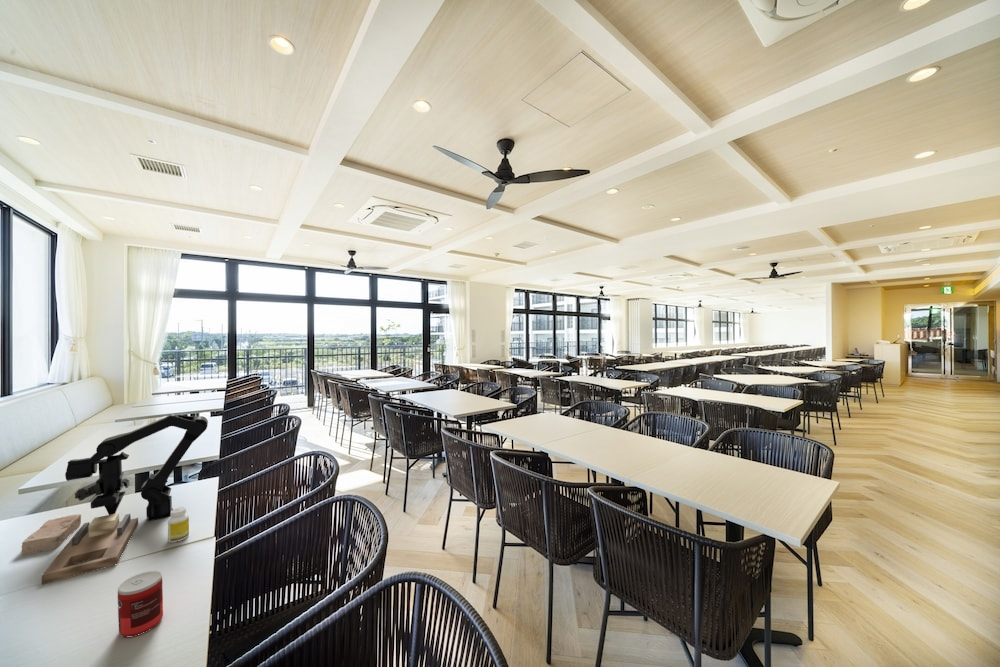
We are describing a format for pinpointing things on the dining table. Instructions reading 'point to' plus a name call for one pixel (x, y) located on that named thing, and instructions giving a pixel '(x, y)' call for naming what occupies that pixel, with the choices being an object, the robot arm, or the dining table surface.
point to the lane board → (90, 551)
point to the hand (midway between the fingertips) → (112, 515)
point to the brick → (51, 534)
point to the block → (103, 525)
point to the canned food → (140, 603)
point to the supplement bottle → (178, 525)
